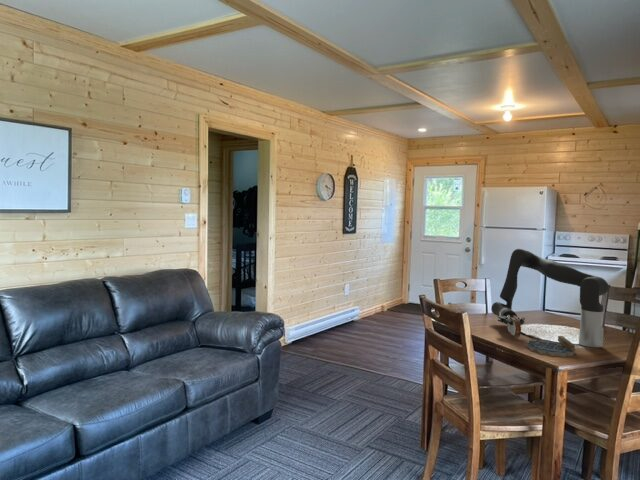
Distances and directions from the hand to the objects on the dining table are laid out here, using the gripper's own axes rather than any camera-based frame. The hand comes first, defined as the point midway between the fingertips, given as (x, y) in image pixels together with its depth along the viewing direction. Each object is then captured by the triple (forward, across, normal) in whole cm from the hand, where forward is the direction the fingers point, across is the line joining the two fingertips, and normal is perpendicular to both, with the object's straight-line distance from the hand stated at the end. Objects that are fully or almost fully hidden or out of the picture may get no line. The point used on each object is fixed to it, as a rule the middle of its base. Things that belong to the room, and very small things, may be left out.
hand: (515, 323), depth 231 cm
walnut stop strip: (+12, +20, +6) cm, 24 cm away
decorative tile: (+13, +12, +9) cm, 20 cm away
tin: (-3, 0, +7) cm, 7 cm away
